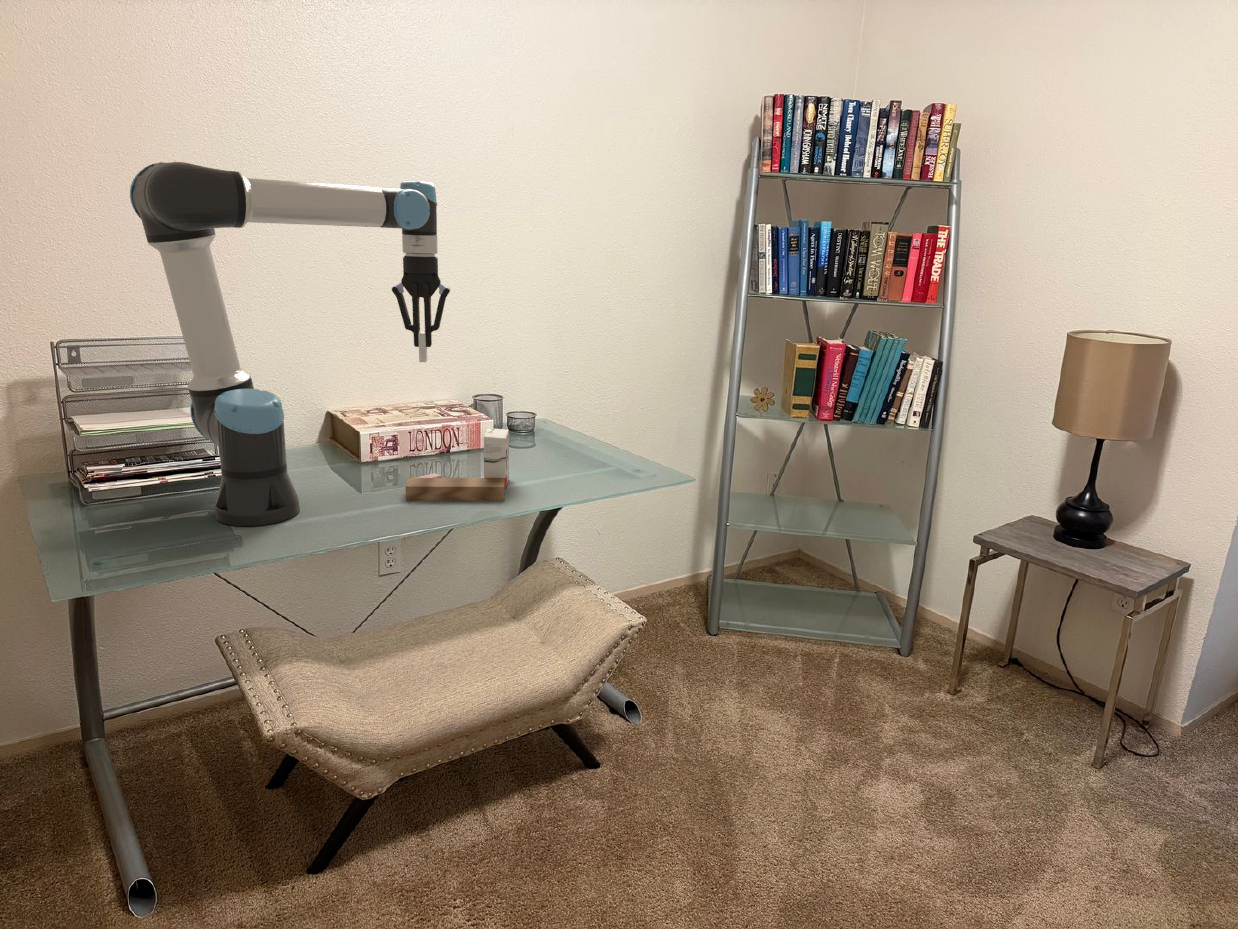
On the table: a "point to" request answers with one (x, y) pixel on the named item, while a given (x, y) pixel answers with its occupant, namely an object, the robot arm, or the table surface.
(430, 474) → the eraser
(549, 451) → the table surface
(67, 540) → the table surface
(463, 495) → the wooden block
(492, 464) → the ink box
